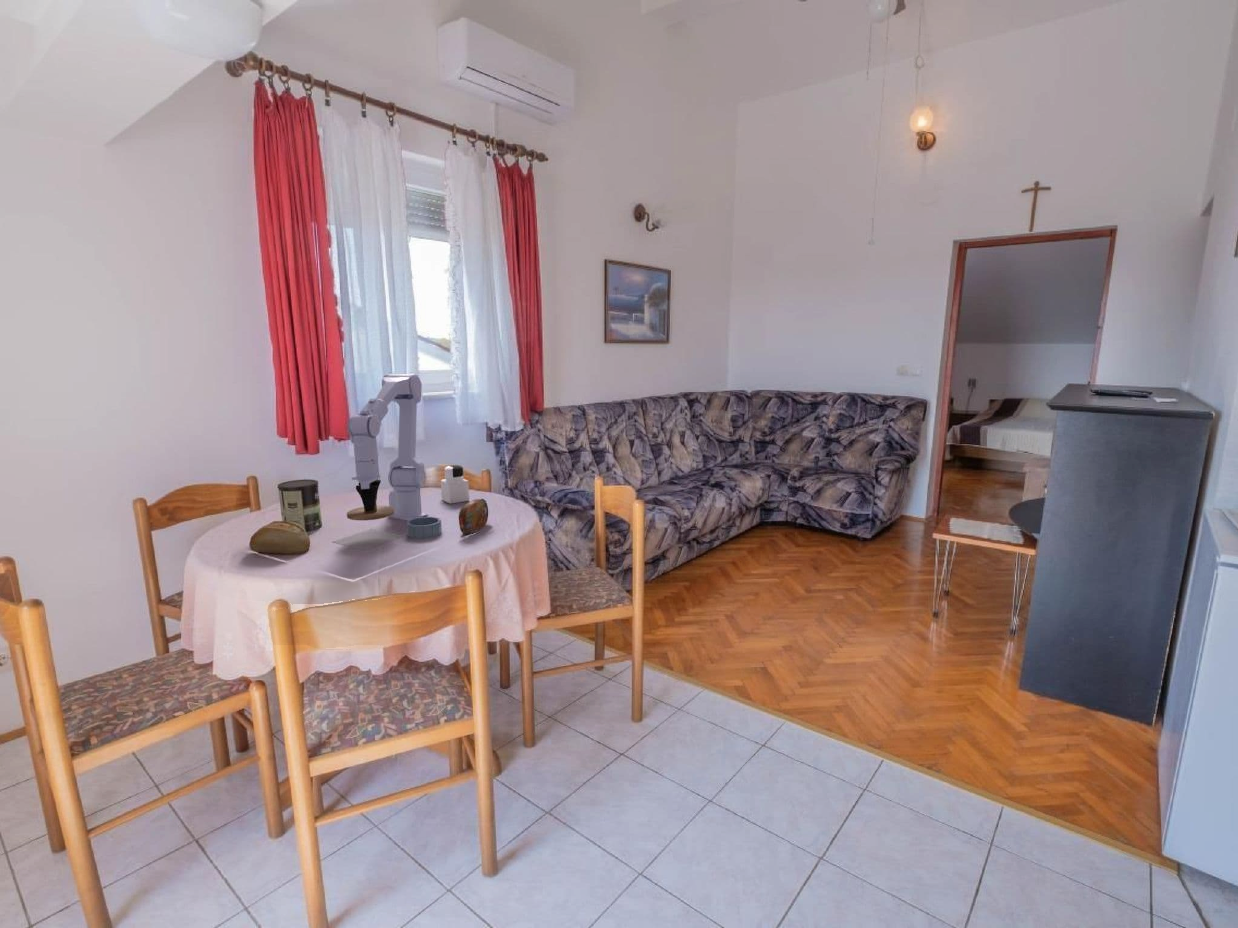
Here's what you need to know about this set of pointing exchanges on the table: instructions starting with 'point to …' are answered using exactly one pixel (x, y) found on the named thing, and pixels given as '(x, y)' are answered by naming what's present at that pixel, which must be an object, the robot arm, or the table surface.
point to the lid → (370, 513)
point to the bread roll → (280, 538)
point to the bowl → (424, 527)
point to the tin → (473, 516)
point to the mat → (367, 539)
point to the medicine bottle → (454, 485)
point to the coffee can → (301, 503)
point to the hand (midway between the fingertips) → (370, 508)
